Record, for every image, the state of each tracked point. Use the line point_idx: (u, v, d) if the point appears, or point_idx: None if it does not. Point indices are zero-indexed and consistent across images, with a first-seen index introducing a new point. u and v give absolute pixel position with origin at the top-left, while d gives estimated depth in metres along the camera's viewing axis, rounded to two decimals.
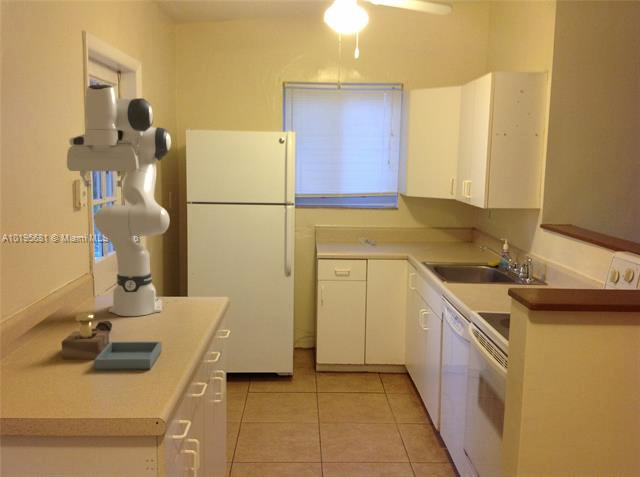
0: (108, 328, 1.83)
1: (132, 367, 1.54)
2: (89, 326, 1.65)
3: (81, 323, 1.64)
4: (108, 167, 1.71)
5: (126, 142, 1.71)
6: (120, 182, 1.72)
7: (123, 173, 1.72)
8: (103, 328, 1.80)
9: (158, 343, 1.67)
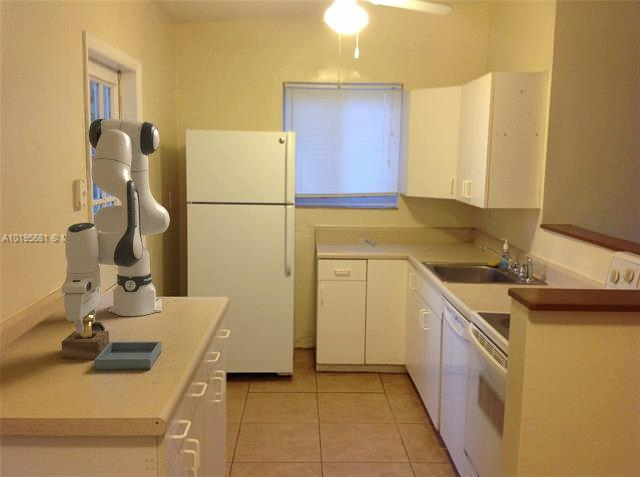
0: (102, 328, 1.82)
1: (132, 367, 1.54)
2: (89, 326, 1.65)
3: None
4: (93, 306, 1.67)
5: None
6: (94, 318, 1.70)
7: (95, 308, 1.71)
8: (99, 328, 1.79)
9: (158, 343, 1.67)
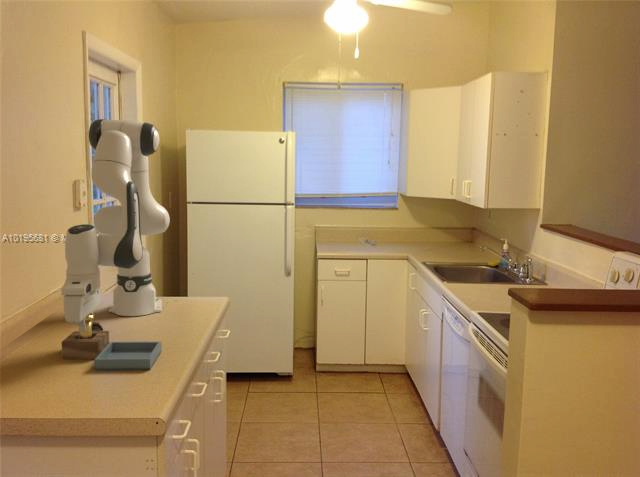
0: (101, 329, 1.82)
1: (132, 367, 1.54)
2: (89, 326, 1.65)
3: None
4: (93, 307, 1.67)
5: None
6: (91, 321, 1.68)
7: (92, 312, 1.69)
8: (98, 329, 1.79)
9: (158, 343, 1.67)
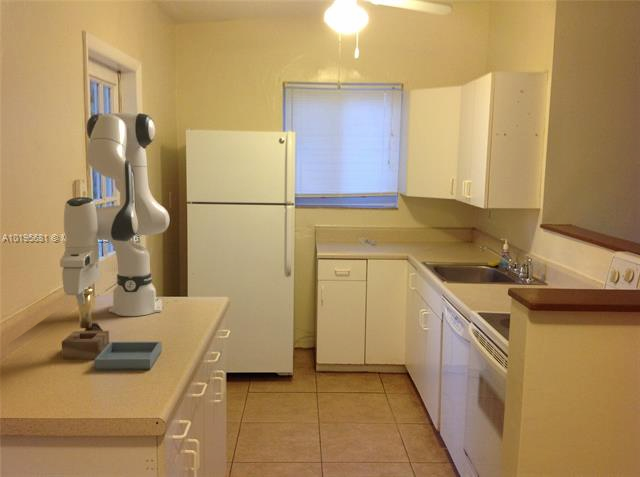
0: (99, 328, 1.82)
1: (132, 367, 1.54)
2: (88, 300, 1.64)
3: None
4: (92, 281, 1.66)
5: None
6: (90, 295, 1.67)
7: (91, 285, 1.68)
8: (98, 329, 1.79)
9: (158, 343, 1.67)
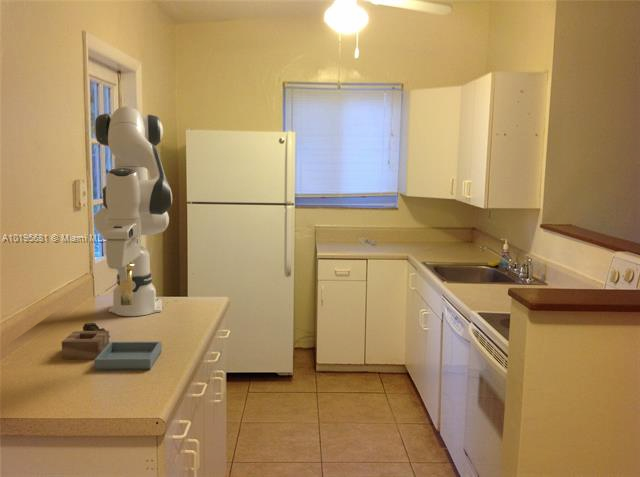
0: (98, 329, 1.82)
1: (132, 367, 1.54)
2: (130, 275, 1.57)
3: None
4: (133, 256, 1.59)
5: None
6: None
7: (132, 261, 1.61)
8: (97, 329, 1.79)
9: (158, 343, 1.67)
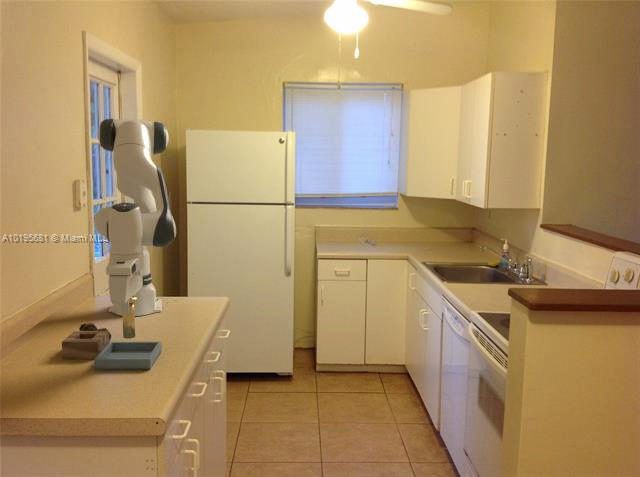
0: (96, 329, 1.81)
1: (132, 367, 1.54)
2: (132, 309, 1.58)
3: None
4: (136, 289, 1.60)
5: None
6: None
7: (135, 294, 1.62)
8: None
9: (158, 343, 1.67)
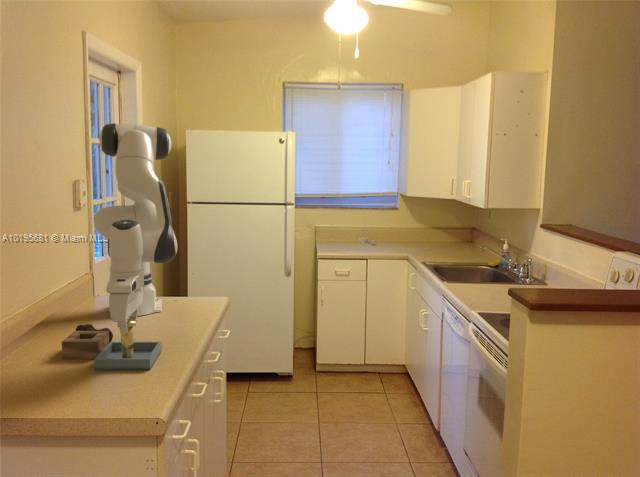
0: None
1: (132, 367, 1.54)
2: (131, 332, 1.58)
3: None
4: (136, 306, 1.61)
5: None
6: (136, 318, 1.65)
7: (137, 308, 1.65)
8: None
9: (158, 343, 1.67)
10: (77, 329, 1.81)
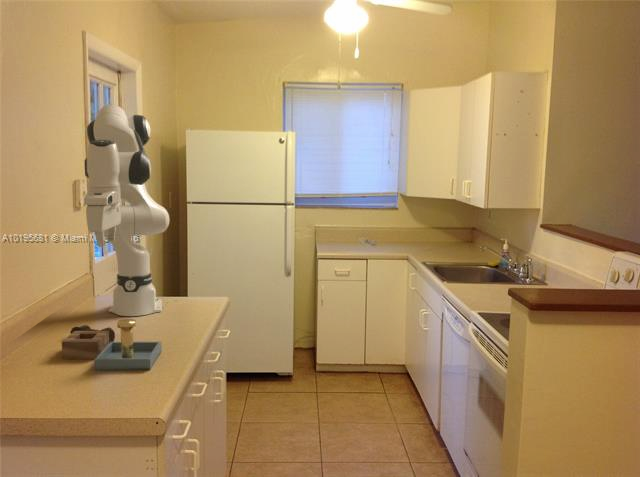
0: None
1: (132, 367, 1.54)
2: (131, 333, 1.58)
3: (123, 329, 1.57)
4: (113, 223, 1.70)
5: None
6: (114, 236, 1.73)
7: (115, 227, 1.74)
8: None
9: (158, 343, 1.67)
10: (72, 331, 1.79)
